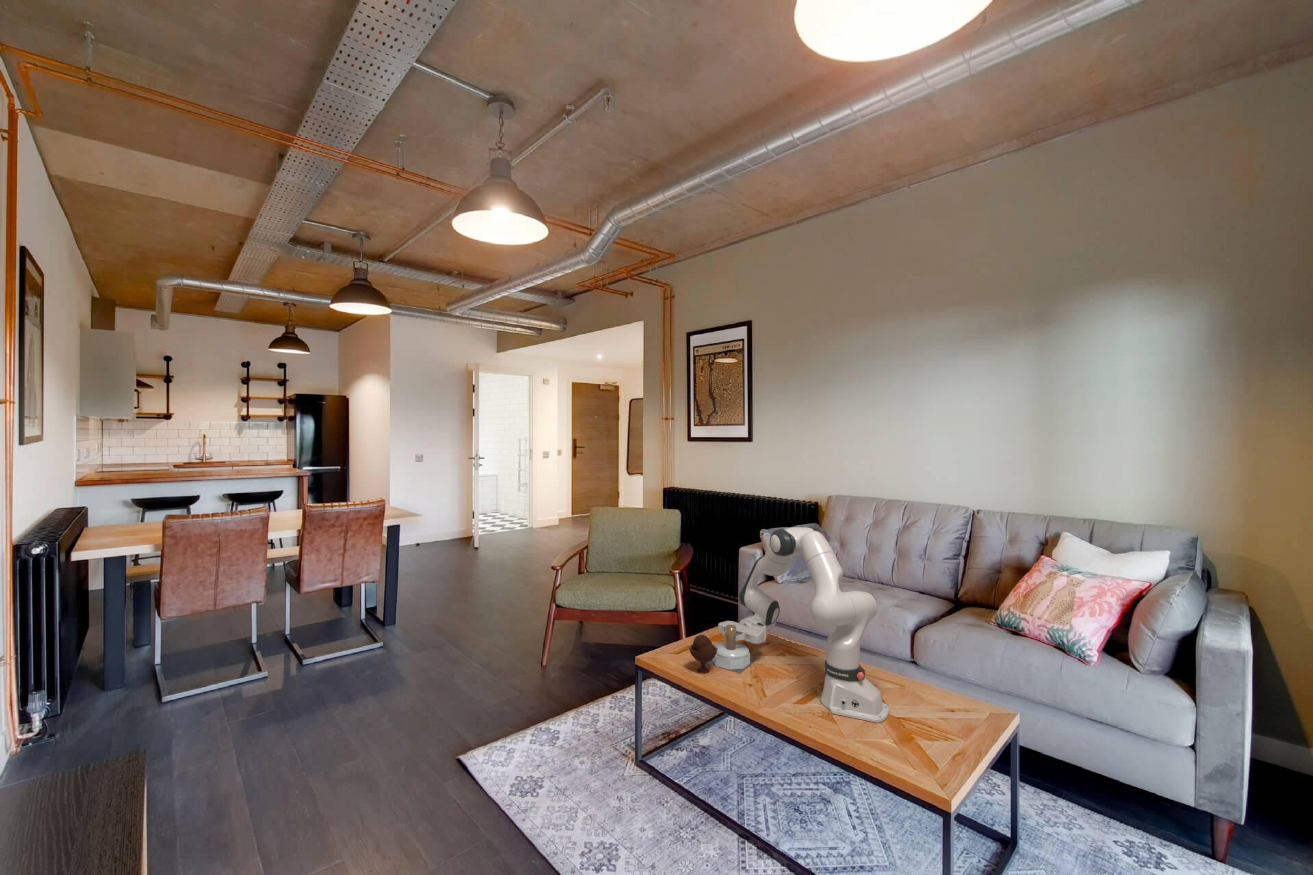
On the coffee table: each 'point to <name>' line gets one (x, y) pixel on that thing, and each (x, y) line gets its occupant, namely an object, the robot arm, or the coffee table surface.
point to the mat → (733, 669)
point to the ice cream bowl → (703, 652)
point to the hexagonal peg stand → (731, 652)
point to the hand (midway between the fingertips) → (729, 636)
